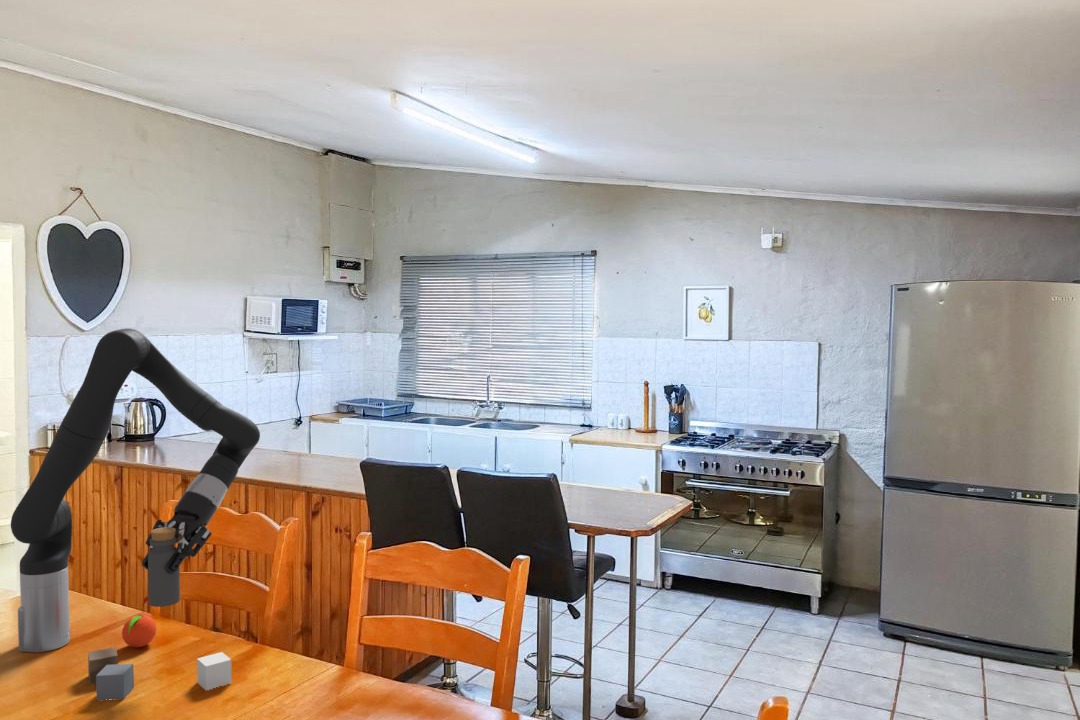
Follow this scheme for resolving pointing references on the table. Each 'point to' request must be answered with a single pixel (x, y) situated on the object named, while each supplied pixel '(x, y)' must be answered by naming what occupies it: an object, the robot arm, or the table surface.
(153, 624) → the peach
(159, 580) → the bottle
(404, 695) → the table surface
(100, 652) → the walnut block
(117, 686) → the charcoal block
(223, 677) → the offwhite block
